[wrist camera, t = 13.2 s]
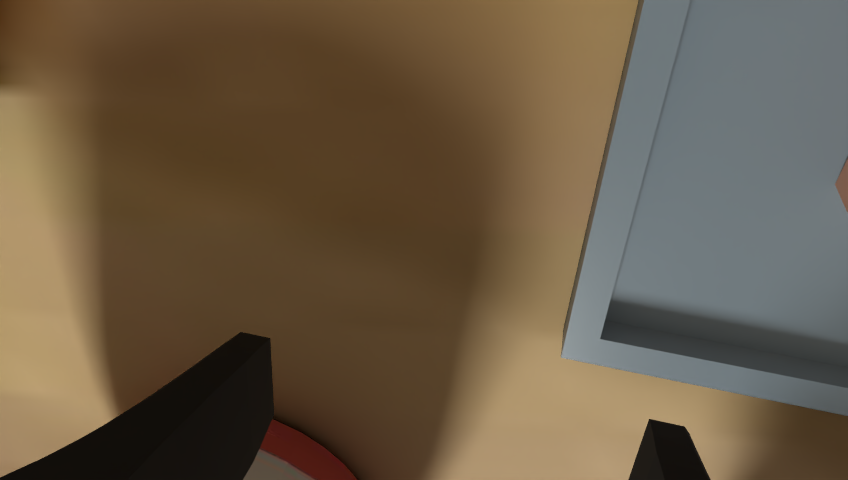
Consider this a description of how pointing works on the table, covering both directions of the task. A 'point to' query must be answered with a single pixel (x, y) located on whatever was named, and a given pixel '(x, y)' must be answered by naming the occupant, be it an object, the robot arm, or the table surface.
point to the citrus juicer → (294, 458)
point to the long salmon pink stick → (843, 185)
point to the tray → (724, 204)
